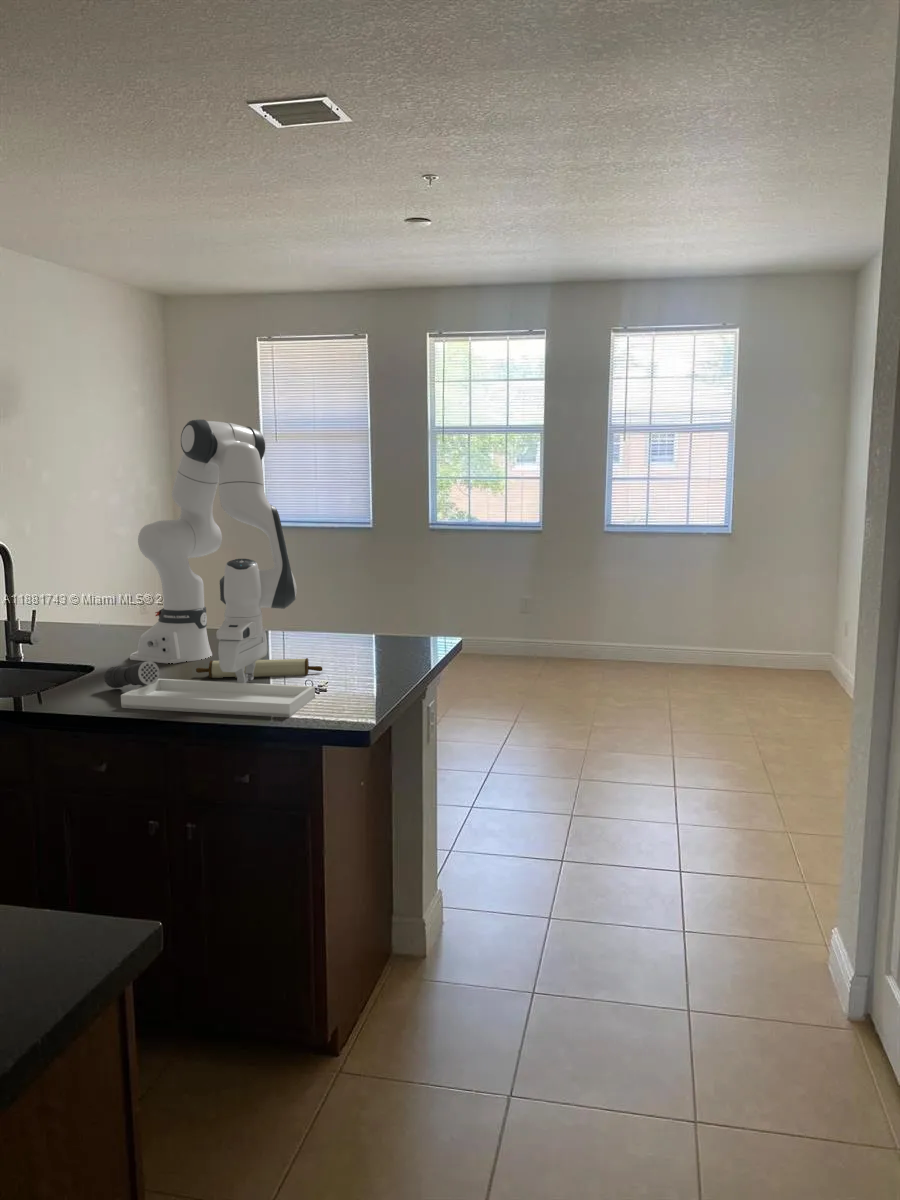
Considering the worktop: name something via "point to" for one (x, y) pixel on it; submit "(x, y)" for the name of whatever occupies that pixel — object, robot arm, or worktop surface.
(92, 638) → the worktop surface
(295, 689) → the tray
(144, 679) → the flashlight
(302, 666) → the rolling pin
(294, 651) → the worktop surface
